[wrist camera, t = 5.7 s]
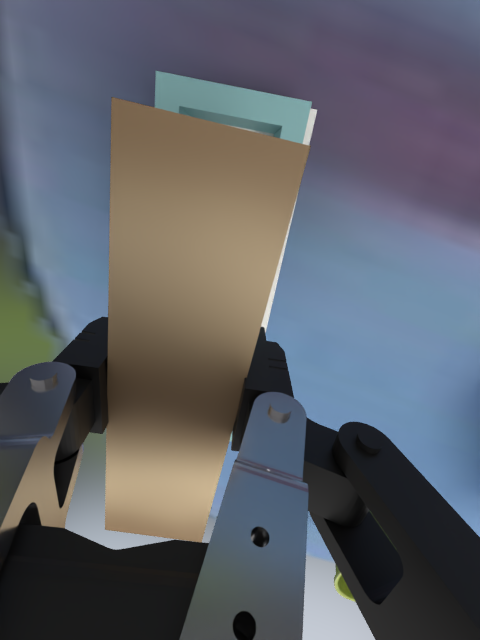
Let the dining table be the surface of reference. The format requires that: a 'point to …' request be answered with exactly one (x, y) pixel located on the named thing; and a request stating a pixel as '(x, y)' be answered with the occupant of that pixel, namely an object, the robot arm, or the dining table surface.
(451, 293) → the dining table surface
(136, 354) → the slat
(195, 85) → the cap
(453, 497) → the dining table surface
